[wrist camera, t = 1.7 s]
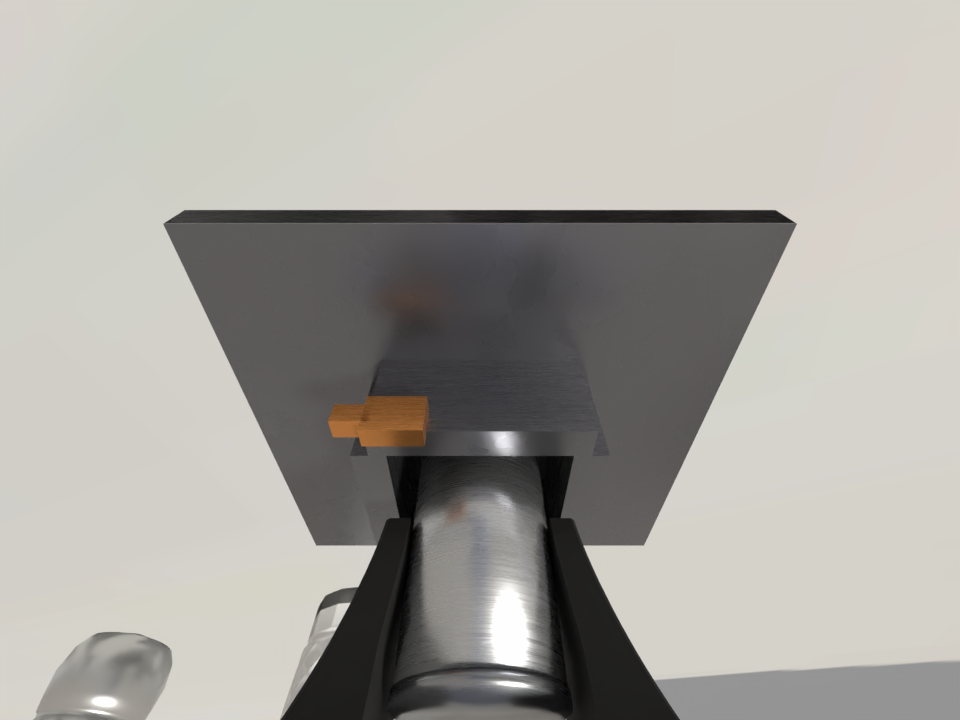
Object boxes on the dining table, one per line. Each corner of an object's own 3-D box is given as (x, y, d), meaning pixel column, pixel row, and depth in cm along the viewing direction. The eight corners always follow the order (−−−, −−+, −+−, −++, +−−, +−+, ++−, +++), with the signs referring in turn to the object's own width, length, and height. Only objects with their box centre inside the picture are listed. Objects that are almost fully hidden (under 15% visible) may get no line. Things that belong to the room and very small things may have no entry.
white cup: (340, 634, 31) (293, 844, 23) (288, 586, 26) (206, 831, 18) (446, 626, 30) (434, 842, 22) (412, 574, 25) (382, 828, 17)
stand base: (184, 210, 11) (54, 293, 8) (775, 210, 11) (906, 293, 8) (322, 526, 21) (291, 625, 18) (637, 526, 21) (669, 625, 18)
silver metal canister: (418, 394, 14) (371, 684, 8) (541, 395, 14) (589, 685, 8) (428, 470, 17) (398, 734, 11) (531, 470, 17) (562, 734, 11)
